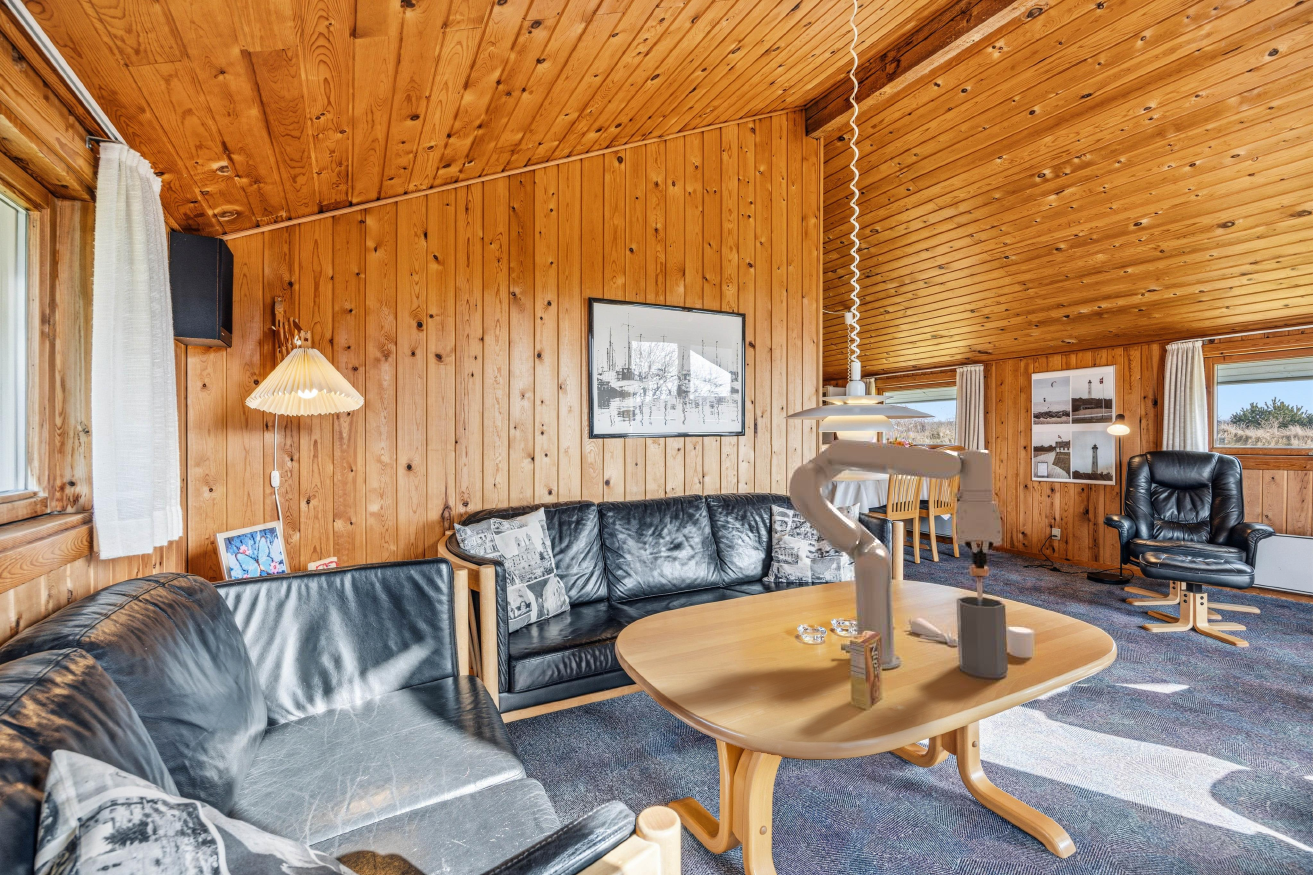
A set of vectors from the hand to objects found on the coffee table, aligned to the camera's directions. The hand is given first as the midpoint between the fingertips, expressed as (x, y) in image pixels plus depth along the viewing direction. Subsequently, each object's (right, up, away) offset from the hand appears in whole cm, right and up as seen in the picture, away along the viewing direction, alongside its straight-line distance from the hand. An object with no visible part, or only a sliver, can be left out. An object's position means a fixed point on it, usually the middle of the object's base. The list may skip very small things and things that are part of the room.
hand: (979, 566), depth 153 cm
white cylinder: (+17, -27, +11) cm, 34 cm away
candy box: (-35, -28, -16) cm, 48 cm away
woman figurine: (+1, -28, +26) cm, 39 cm away
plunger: (0, -17, 0) cm, 17 cm away
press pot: (+1, -27, +1) cm, 27 cm away
